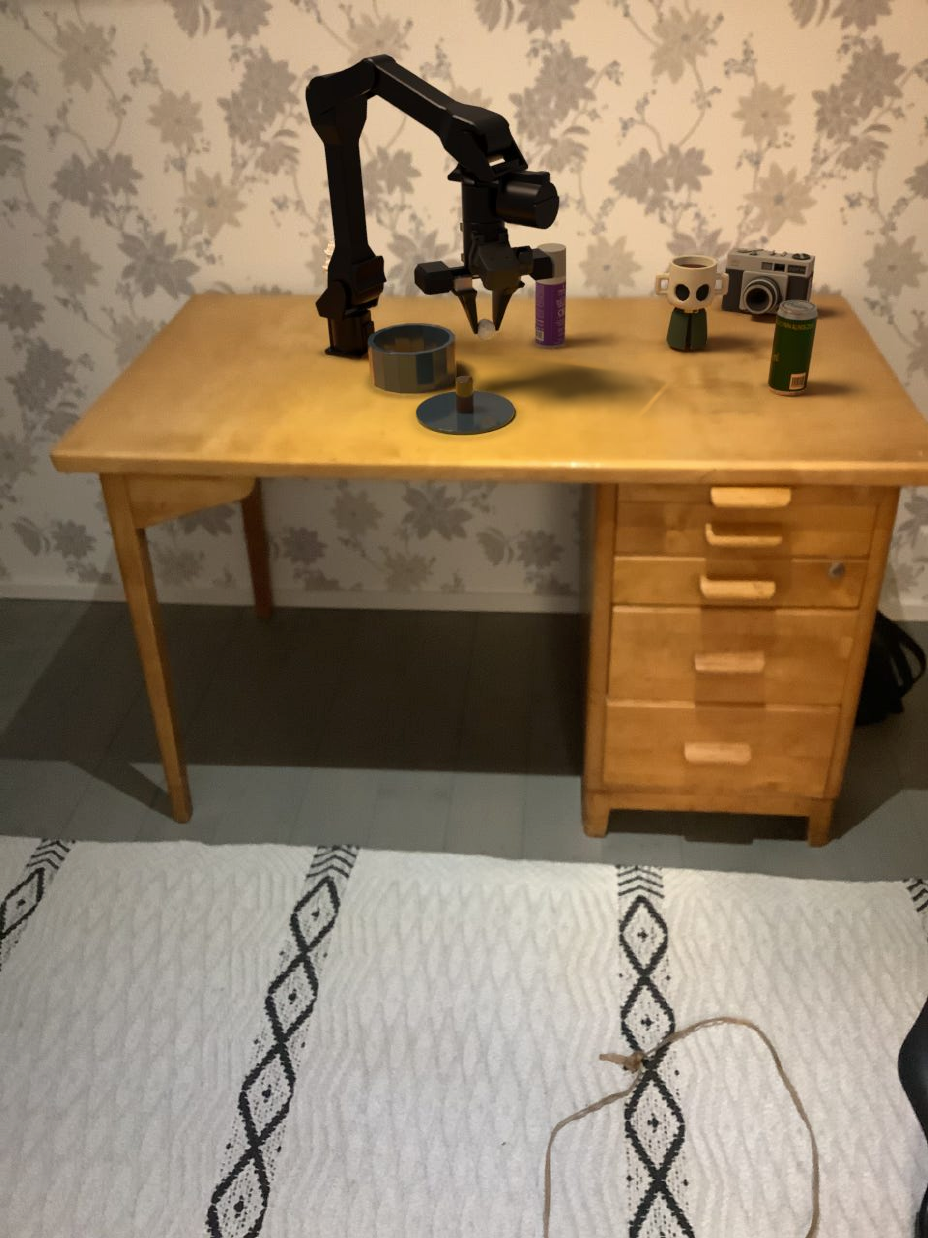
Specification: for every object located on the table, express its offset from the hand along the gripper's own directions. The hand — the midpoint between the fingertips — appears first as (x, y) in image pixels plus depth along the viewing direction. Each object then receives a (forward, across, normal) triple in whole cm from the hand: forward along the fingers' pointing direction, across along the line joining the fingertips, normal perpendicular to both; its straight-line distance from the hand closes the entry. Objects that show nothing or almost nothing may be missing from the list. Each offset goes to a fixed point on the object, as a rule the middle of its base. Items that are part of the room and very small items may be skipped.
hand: (485, 331), depth 154 cm
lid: (+8, -6, -9) cm, 13 cm away
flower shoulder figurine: (+8, -12, +42) cm, 44 cm away
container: (+8, +15, +12) cm, 21 cm away
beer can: (+8, +39, -18) cm, 44 cm away
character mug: (+8, +34, +3) cm, 35 cm away
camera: (+8, +52, +11) cm, 53 cm away
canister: (+8, -9, +6) cm, 14 cm away
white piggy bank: (+1, 0, 0) cm, 1 cm away
